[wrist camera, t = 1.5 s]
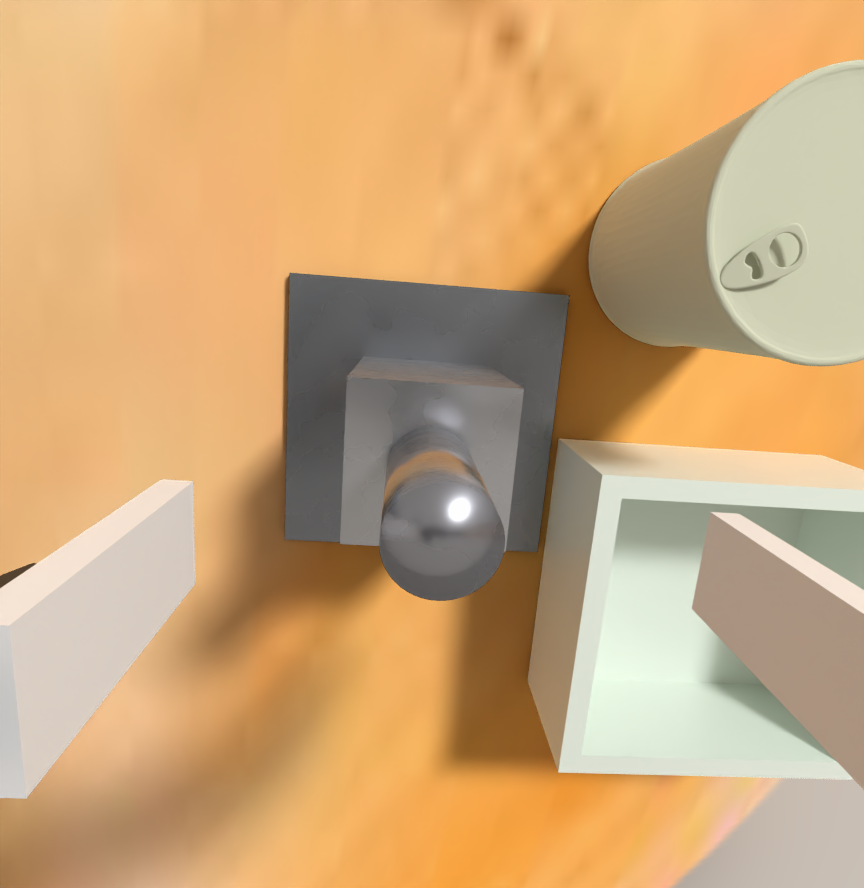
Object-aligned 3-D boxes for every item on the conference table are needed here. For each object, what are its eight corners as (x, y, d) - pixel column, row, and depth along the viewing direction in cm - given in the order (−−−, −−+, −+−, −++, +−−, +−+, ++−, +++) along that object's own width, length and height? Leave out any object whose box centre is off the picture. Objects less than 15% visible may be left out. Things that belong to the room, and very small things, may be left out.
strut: (357, 476, 31) (311, 650, 15) (363, 356, 29) (318, 410, 14) (476, 483, 31) (551, 659, 15) (488, 365, 29) (582, 427, 14)
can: (559, 210, 28) (668, 141, 17) (731, 122, 28) (968, -13, 16) (626, 376, 30) (765, 418, 19) (787, 297, 30) (1033, 290, 18)
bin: (527, 680, 34) (558, 772, 28) (558, 438, 31) (602, 474, 24) (765, 689, 35) (852, 779, 29) (821, 455, 32) (934, 494, 25)
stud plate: (286, 536, 32) (248, 611, 24) (291, 273, 28) (248, 259, 21) (535, 549, 32) (577, 624, 25) (567, 295, 29) (626, 290, 22)
